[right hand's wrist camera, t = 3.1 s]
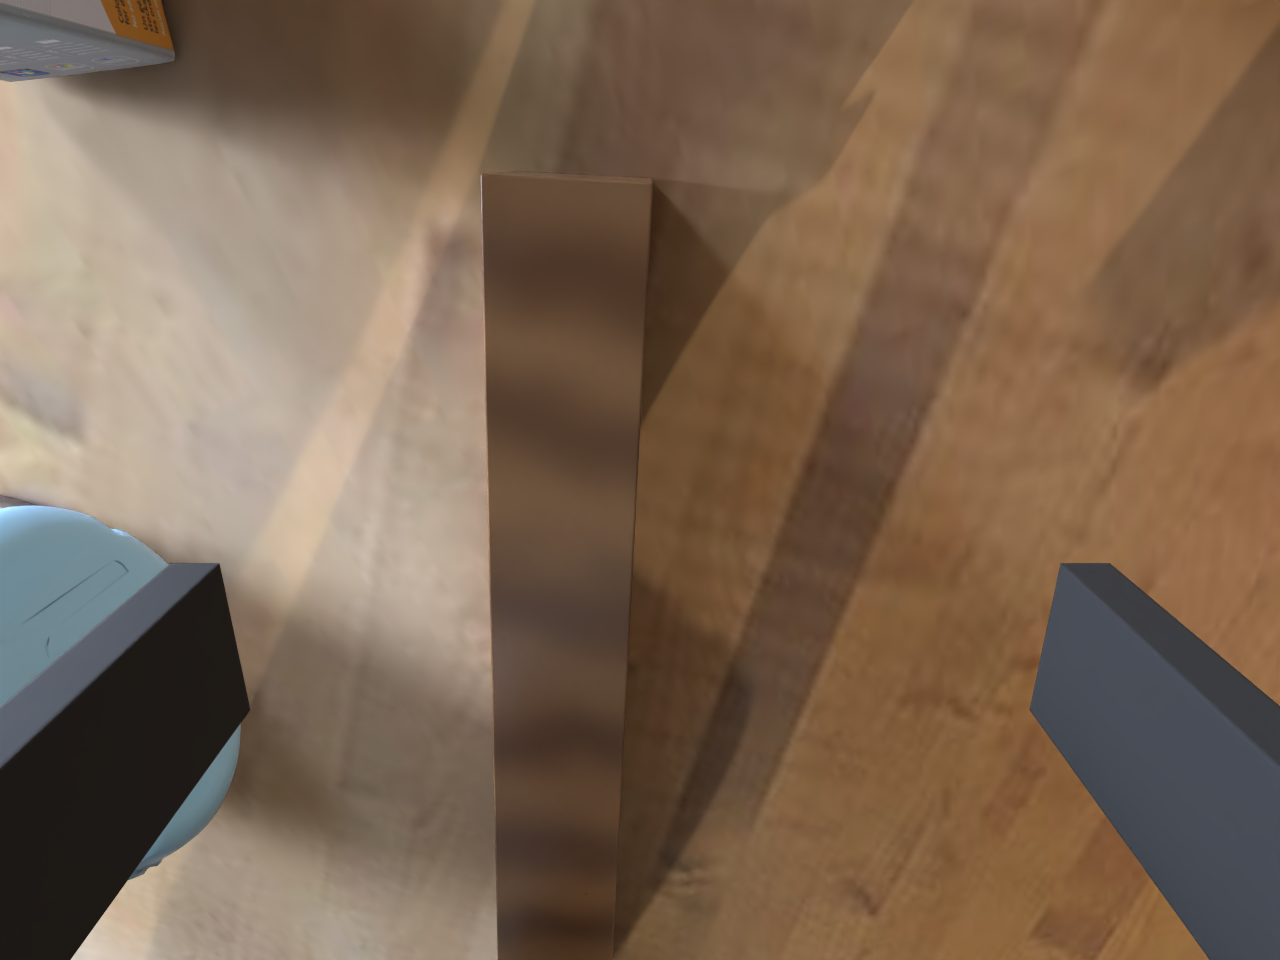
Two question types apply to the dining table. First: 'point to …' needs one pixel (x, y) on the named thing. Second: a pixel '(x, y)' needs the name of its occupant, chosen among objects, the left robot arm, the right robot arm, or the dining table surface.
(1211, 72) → the dining table surface
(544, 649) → the beam
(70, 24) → the hard drive box
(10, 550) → the left robot arm
